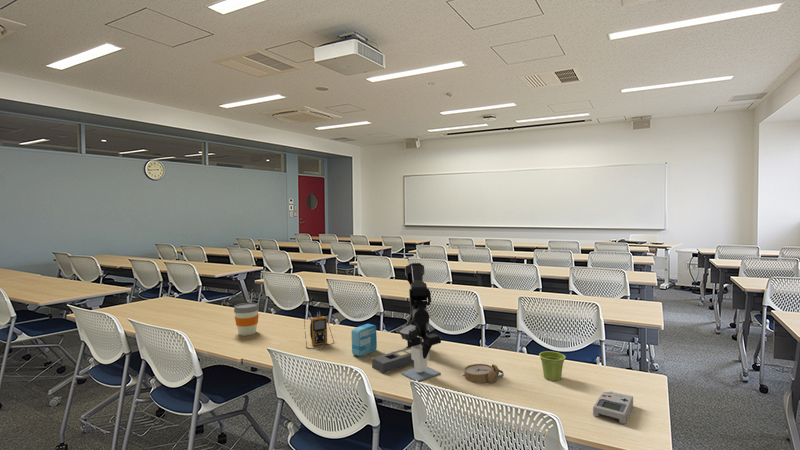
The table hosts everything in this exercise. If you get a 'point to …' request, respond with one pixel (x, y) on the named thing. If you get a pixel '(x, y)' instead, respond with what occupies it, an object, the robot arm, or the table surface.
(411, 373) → the mat
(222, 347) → the table surface
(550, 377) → the plant pot
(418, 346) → the plug
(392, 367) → the block
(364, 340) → the data package
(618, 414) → the handheld gaming device
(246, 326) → the reusable coffee cup
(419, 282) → the robot arm
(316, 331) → the multimeter
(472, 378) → the alarm clock
